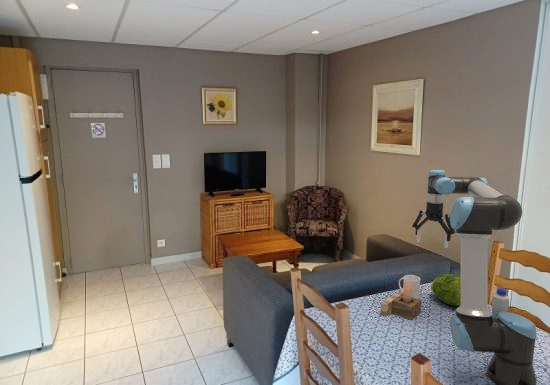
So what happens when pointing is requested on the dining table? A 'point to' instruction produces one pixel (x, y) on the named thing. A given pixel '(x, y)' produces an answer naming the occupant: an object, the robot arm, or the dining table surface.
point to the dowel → (407, 292)
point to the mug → (415, 285)
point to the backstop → (389, 304)
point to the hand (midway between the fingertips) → (432, 244)
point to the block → (406, 307)
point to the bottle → (500, 302)
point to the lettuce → (448, 288)
